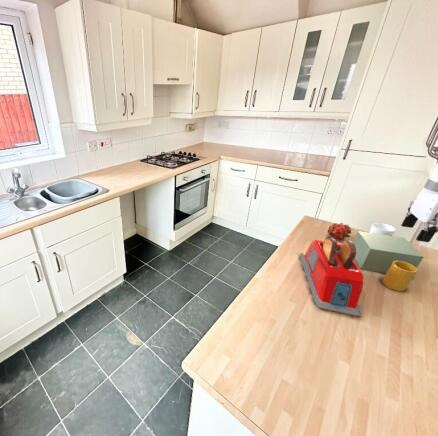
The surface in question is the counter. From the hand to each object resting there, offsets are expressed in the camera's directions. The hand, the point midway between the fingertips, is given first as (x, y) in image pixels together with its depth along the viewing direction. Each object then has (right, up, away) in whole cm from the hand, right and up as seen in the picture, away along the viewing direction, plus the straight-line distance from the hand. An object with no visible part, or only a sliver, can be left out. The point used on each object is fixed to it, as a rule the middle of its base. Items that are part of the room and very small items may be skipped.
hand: (414, 233), depth 83 cm
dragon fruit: (+1, -5, +36) cm, 36 cm away
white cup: (+15, -8, +30) cm, 35 cm away
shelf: (+6, -14, +19) cm, 24 cm away
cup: (+1, -20, +8) cm, 21 cm away
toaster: (-23, -19, +10) cm, 32 cm away
